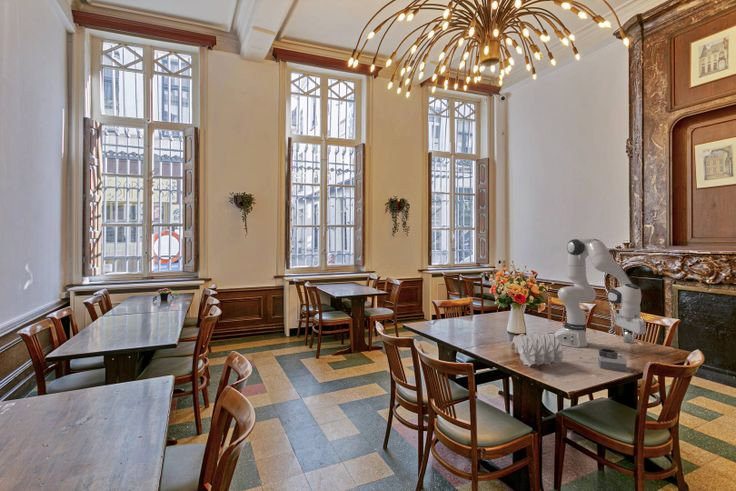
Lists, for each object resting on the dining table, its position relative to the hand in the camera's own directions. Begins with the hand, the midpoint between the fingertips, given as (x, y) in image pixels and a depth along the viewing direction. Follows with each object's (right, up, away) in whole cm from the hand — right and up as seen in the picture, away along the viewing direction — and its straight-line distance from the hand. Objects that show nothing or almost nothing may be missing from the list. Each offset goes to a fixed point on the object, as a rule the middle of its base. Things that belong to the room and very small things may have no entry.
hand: (629, 337), depth 214 cm
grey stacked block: (-11, -16, -2) cm, 19 cm away
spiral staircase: (-49, -16, +3) cm, 52 cm away
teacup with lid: (-52, -15, +23) cm, 59 cm away
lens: (0, -3, 0) cm, 3 cm away
